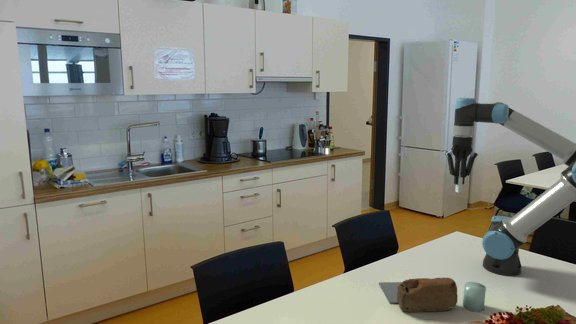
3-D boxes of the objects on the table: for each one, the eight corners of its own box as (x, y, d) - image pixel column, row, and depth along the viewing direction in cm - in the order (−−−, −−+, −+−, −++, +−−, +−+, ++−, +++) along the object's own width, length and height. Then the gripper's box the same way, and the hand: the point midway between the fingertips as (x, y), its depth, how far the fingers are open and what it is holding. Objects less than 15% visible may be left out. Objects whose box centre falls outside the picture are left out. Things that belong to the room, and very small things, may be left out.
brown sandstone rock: (456, 312, 151) (401, 315, 150) (447, 299, 158) (394, 302, 157) (460, 285, 148) (403, 287, 147) (450, 273, 155) (396, 275, 154)
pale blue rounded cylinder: (478, 302, 158) (479, 281, 157) (487, 311, 151) (489, 290, 150) (459, 302, 158) (461, 281, 156) (468, 312, 151) (470, 291, 150)
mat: (420, 283, 173) (420, 281, 173) (435, 303, 157) (435, 301, 157) (378, 283, 172) (378, 282, 172) (389, 303, 156) (389, 302, 156)
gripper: (474, 134, 180) (469, 189, 184) (443, 134, 179) (439, 189, 184) (482, 137, 173) (477, 194, 177) (451, 137, 172) (446, 194, 176)
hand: (458, 191), depth 180 cm, fingers closed
